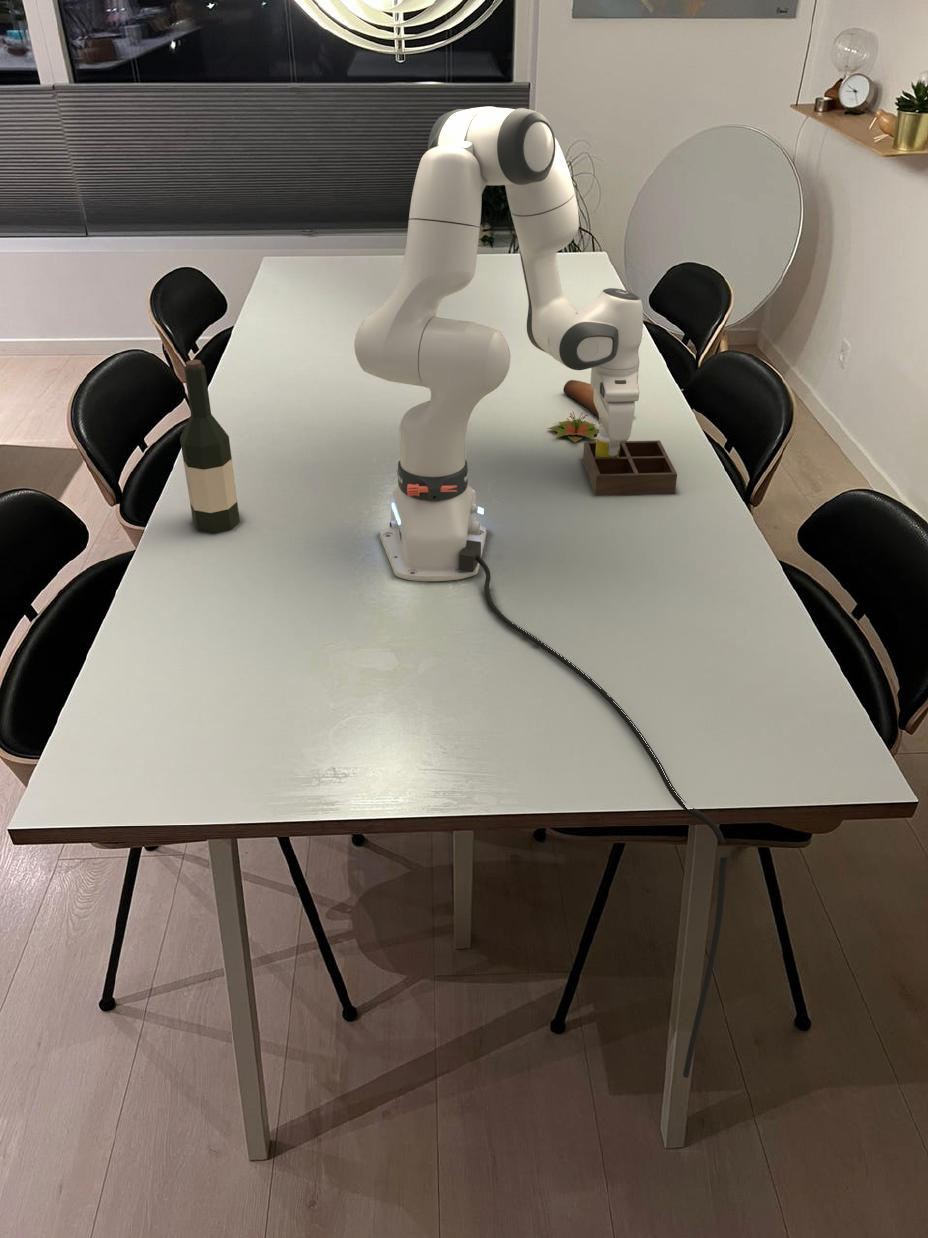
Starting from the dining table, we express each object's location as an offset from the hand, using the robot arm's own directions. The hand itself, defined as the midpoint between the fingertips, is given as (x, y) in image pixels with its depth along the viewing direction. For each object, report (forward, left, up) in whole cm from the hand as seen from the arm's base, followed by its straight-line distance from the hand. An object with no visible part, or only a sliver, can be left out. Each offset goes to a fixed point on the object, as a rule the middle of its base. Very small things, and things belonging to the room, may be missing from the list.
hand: (608, 443), depth 206 cm
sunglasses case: (+32, -4, -6) cm, 32 cm away
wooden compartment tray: (-4, -4, -5) cm, 7 cm away
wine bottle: (-19, +74, -6) cm, 77 cm away
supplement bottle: (0, 0, -5) cm, 5 cm away
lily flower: (+17, +3, -6) cm, 18 cm away
